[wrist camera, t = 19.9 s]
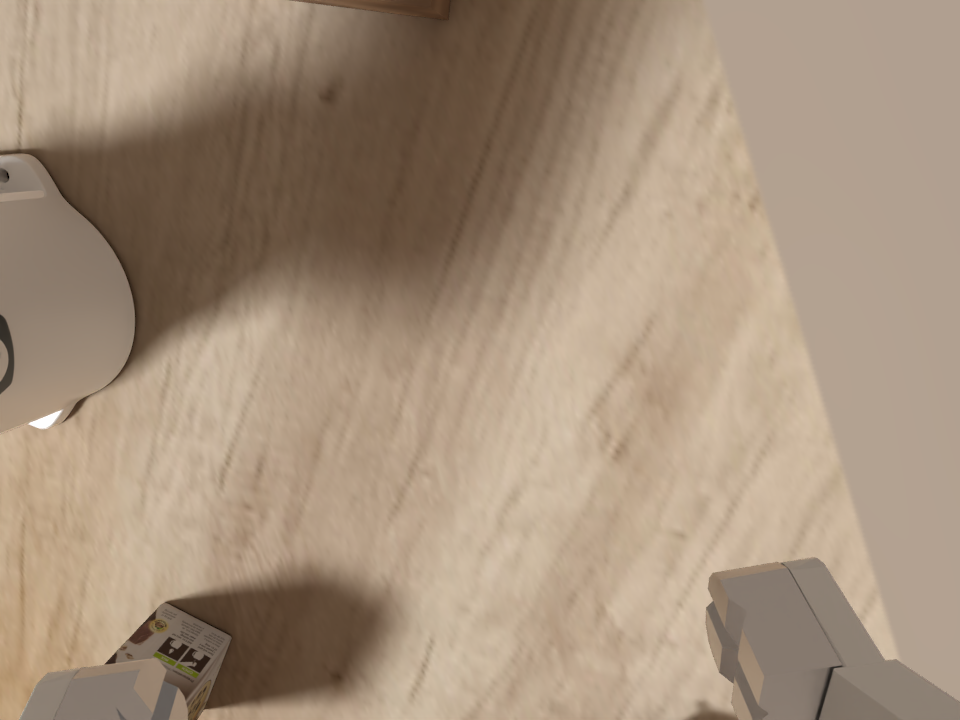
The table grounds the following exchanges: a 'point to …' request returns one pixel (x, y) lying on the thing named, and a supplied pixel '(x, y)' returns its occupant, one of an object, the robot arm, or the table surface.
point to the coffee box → (179, 652)
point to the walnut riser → (395, 6)
